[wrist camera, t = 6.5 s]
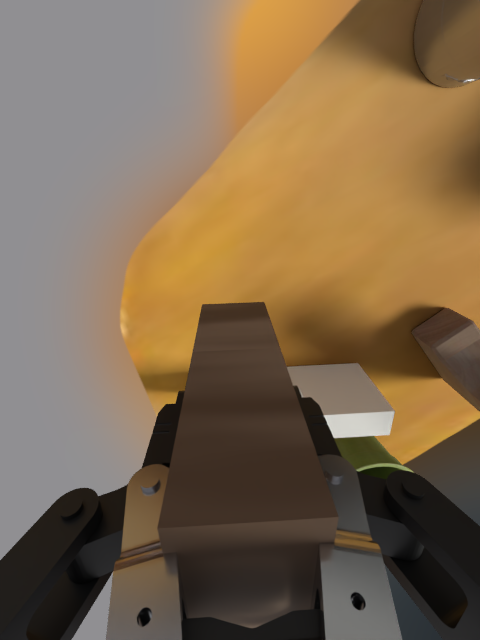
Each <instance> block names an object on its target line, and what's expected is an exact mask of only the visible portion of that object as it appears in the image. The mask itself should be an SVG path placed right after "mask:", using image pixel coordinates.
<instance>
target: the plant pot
mask: <svg viewBox="0 0 480 640" xmlns="http://www.w3.org/2000/svg"><path fill="white" fill-rule="evenodd" d="M334 440H335V442H336V444H337V446H338V449H339V451H340V453H341V455H342V457H343V458H344V459H346V460H347V461H348V462H350V463H351V464H352V465H353V467H354V468H355V470H356V471H358V472H360V473H363V474H366V475H369V476H374V477H378V478H382V479H387V477H388V476H389V474H390V473H392V472H394V471H397V470H405V471H410V472H413V471H411V470H410V469H409V468H407V467H405V466H403V465H402V464H401V463H400V462H399V461H398V460H397V459H396V458H395V457H393V456H391V455H390V454H389V453H388V451H387V450H386V449H385V448H384V447H383V446H382V445H381V444H380V442H379V441H378V440H377V439H376V438H375V437H374V436H362V437H345V438H334ZM413 473H414V472H413Z"/></svg>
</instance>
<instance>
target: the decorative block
mask: <svg viewBox="0 0 480 640" xmlns="http://www.w3.org/2000/svg"><path fill="white" fill-rule="evenodd" d="M412 335H413V336H414V337H415V339H416V340H417V342H418V343H419V345H420V346H421V348H422V349H423V351H424V352H425V354H426V355H427V357H428V358H429V360H430V361H431V363H432V364H433V365H434V367H435V368H436V370H437V371H438V373H439V374H440V376H441V377H442V379H443V380H444V381H445V382H446V383H448V384H449V385H450V386H451V387H452V388H453V389H454V390H456V391H457V392H458V393H459V394H460V395H461V396H462V397H464V398H465V399H466V400H467V401H468V402H469V403H470V404H472V405H473V406H474V407H475V408H476V409H477V410H478V411H480V330H479V329H478V327H477V326H476V325H475V323H474V322H473V321H472V320H470V319H468V318H466V317H464V316H462V315H460V314H459V313H457V312H455V311H453V310H451V309H449V308H445V309H443V310H442V311H440V312H439V313H437V314H436V315H434V316H433V317H431V318H430V319H428V320H427V321H425V322H424V323H422V324H421V325H419V326H418V327H416V328H415V329H413V331H412Z"/></svg>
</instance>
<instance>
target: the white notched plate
mask: <svg viewBox="0 0 480 640" xmlns="http://www.w3.org/2000/svg"><path fill="white" fill-rule="evenodd" d="M287 369H288V372H289V375H290V378H291V381H292V384H293V386H295V385H297V386H298V388H299V391H300V394H301V396H302V397H311V398H312V399H313V400H314V401H316V402H317V403H318V404H319V405H320V408H321V410H322V412H323V414H324V417H325V419H326V421H327V425H328V426H329V428H330V430H331V433H332V435H333V437H334V438H345V437H362V436H379V435H390V430H391V426H392V422H393V417H394V413H395V411H394V409H393V408H392V407H391V405H390V404H389V403H388V402H387V400H386V399H385V398H384V396H383V395H382V394H381V392H380V391H379V390H378V388H377V387H376V386H375V385H374V383H373V382H372V381H371V379H370V378H369V377H368V375H367V374H366V373H365V372H364V370H363V369H362V368H361V366H360V365H359V364H358V363H348V364H329V365H310V366H291V367H287Z"/></svg>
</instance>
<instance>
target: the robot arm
mask: <svg viewBox="0 0 480 640" xmlns="http://www.w3.org/2000/svg"><path fill="white" fill-rule="evenodd" d="M414 50H415V56H416V60H417V63H418V65H419V68H420V70H421V71H422V73H423V74H424V75H425V77H426V78H427V79H428V80H430V81H431V82H432V83H434V84H436V85H438V86H441V87H447V88H453V87H460V86H463V85H465V84H468V83H470V82H473V81H476V80H479V79H480V0H423V2H422V4H421V7H420V10H419V13H418V16H417V19H416V25H415V31H414ZM293 387H294V390H295V392H296V395H297V398H298V401H299V404H300V407H301V410H302V413H303V415H304V418H305V421H306V424H307V427H308V430H309V433H310V436H311V439H312V441H313V444H314V447H315V450H316V453H317V456H318V459H319V462H320V464H321V467H322V470H323V473H324V476H325V479H326V482H327V485H328V488H329V490H330V493H331V496H332V499H333V502H334V505H335V508H336V511H337V513H338V516H339V519H338V524H337V530H336V536H335V542H325V543H319V548H318V555H317V562H316V569H315V577H314V584H313V591H312V598H311V606H310V609H309V610H296V611H291V612H289V613H287V614H285V615H283V616H280V617H278V618H276V619H274V620H272V621H269V622H267V623H265V624H263V625H260V626H258V627H256V628H248V627H244V626H241V625H237V624H234V623H230V622H226V621H223V620H219V619H216V618H212V617H201V618H189V615H188V610H187V604H186V599H185V594H184V589H183V583H182V578H181V573H180V568H179V562H178V557H177V552H173V553H163V552H162V548H161V543H160V539H159V534H158V530H157V527H158V522H159V517H160V512H161V507H162V502H163V497H164V492H165V488H166V483H167V478H168V473H169V468H170V463H171V458H172V453H173V448H174V443H175V438H176V433H177V428H178V423H179V418H180V413H181V408H182V403H183V398H184V393H185V391H179V392H178V396H177V400H176V404H166V405H165V406H164V407H163V408H162V409H161V411H160V412H159V413H158V416H157V419H156V423H155V426H154V429H153V434H152V436H151V439H150V443H149V446H148V449H147V453H146V456H145V459H144V463H143V466H142V469H140V470H139V471H137V472H136V473H135V474H134V475H133V476H132V478H131V479H130V481H129V483H128V484H127V485H126V486H124V487H122V488H120V489H118V490H115V491H112V492H110V493H107V494H104V495H101V496H98V495H97V493H96V492H95V491H93V490H92V489H89V488H79V489H75V490H72V491H70V492H68V493H66V494H64V495H63V496H61V497H60V498H59V499H58V500H57V501H56V502H55V503H54V504H53V505H52V506H51V507H50V508H49V509H48V510H47V511H46V512H45V513H44V514H43V516H41V517H40V519H39V520H38V521H37V522H36V523H35V524H34V525H33V526H32V527H31V528H30V529H29V530H28V532H26V534H25V535H24V536H23V537H22V538H21V539H20V540H19V541H18V542H17V543H16V544H15V545H14V546H13V547H12V549H11V550H10V551H9V552H8V553H7V554H6V555H5V556H4V557H3V558H2V559H1V560H0V640H71V639H72V638H73V636H74V635H75V633H76V631H77V630H78V628H79V626H80V625H81V623H82V621H83V620H84V618H85V617H86V615H87V613H88V612H89V610H90V608H91V606H92V605H93V604H94V602H95V600H96V599H97V597H98V595H99V594H100V592H101V590H102V589H103V587H104V586H105V584H106V582H107V581H108V579H109V577H110V576H111V574H112V572H113V578H112V587H111V597H110V607H109V616H108V625H107V634H106V640H402V637H401V633H400V628H399V624H398V620H397V616H396V612H395V607H394V603H393V599H392V595H391V590H390V586H389V582H388V578H387V573H386V569H385V565H386V566H387V568H388V569H389V570H390V571H391V573H392V574H393V575H394V577H395V578H396V579H397V580H398V582H399V583H400V584H401V586H402V587H403V588H404V589H405V590H406V592H407V593H408V595H409V596H410V597H411V598H412V600H413V601H414V602H415V604H416V605H417V606H418V607H419V609H420V610H421V611H422V613H423V614H424V615H425V616H426V618H427V619H428V620H429V622H430V623H431V624H432V625H433V627H434V628H435V629H436V631H437V632H438V633H439V635H440V636H441V637H442V638H443V640H480V526H479V525H478V524H477V523H475V522H474V521H473V520H472V519H471V518H470V517H468V516H467V515H466V514H465V513H464V512H463V511H462V510H460V509H459V508H458V507H457V506H456V505H455V504H454V503H452V502H451V501H450V500H449V499H448V498H447V497H446V496H444V495H443V494H442V493H441V492H440V491H439V490H437V489H436V488H435V487H434V486H433V485H432V484H431V483H429V482H428V481H427V480H426V479H424V478H423V477H421V476H420V475H417V474H416V473H413V472H410V471H405V470H397V471H394V472H392V473H390V474H389V476H388V477H387V479H382V478H378V477H374V476H369V475H366V474H363V473H360V472H358V471H356V470H355V468H354V467H353V465H352V464H351V463H350V462H348V461H347V460H346V459H344V458H343V457H342V455H341V453H340V451H339V449H338V446H337V444H336V442H335V440H334V437H333V435H332V433H331V430H330V428H329V426H328V425H327V421H326V419H325V417H324V414H323V412H322V410H321V408H320V405H319V404H318V403H317V402H316V401H314V400H313V399H312V398H311V397H302V396H301V394H300V391H299V388H298V386H297V385H295V386H293ZM384 564H385V565H384Z"/></svg>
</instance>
